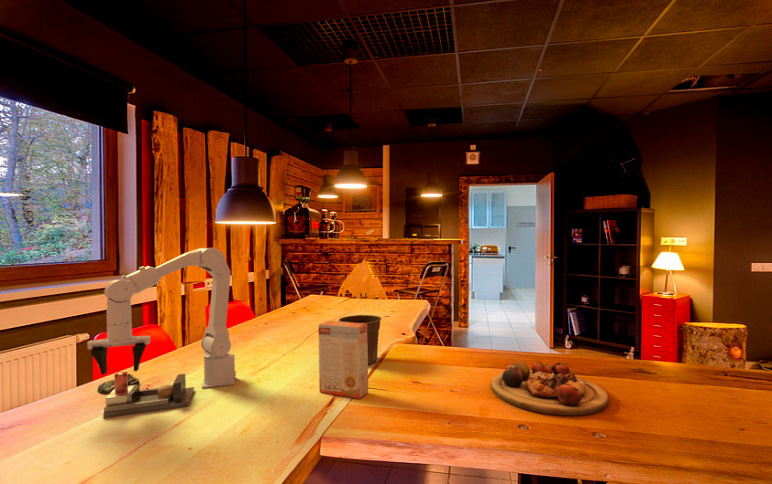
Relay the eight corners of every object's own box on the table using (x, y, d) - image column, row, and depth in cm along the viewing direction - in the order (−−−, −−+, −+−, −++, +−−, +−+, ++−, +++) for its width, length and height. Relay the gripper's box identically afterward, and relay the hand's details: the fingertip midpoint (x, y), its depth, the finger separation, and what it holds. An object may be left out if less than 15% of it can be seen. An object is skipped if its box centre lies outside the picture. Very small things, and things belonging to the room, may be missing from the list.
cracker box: (369, 392, 117) (368, 322, 117) (359, 400, 111) (358, 327, 111) (329, 385, 123) (328, 319, 123) (318, 392, 117) (317, 323, 117)
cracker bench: (193, 390, 120) (193, 370, 120) (188, 406, 109) (187, 384, 109) (118, 400, 113) (117, 379, 113) (103, 418, 102) (103, 394, 102)
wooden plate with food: (628, 423, 96) (628, 390, 96) (494, 412, 102) (494, 380, 103) (589, 380, 127) (589, 355, 127) (488, 373, 134) (488, 349, 134)
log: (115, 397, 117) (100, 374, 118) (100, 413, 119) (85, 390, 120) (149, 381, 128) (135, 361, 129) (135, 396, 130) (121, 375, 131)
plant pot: (333, 358, 152) (333, 316, 152) (371, 352, 159) (371, 313, 159) (347, 370, 137) (347, 324, 137) (389, 363, 144) (388, 320, 144)
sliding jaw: (139, 394, 114) (139, 367, 114) (131, 405, 106) (131, 376, 106) (115, 397, 112) (115, 370, 112) (105, 409, 104) (105, 379, 104)
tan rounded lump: (175, 393, 115) (175, 383, 115) (172, 399, 111) (172, 388, 111) (159, 395, 113) (159, 385, 113) (156, 401, 110) (156, 390, 110)
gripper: (82, 328, 102) (83, 380, 102) (145, 323, 107) (146, 373, 107) (92, 323, 109) (93, 371, 109) (151, 319, 114) (152, 365, 114)
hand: (120, 371), depth 109 cm, fingers open, 7 cm apart
